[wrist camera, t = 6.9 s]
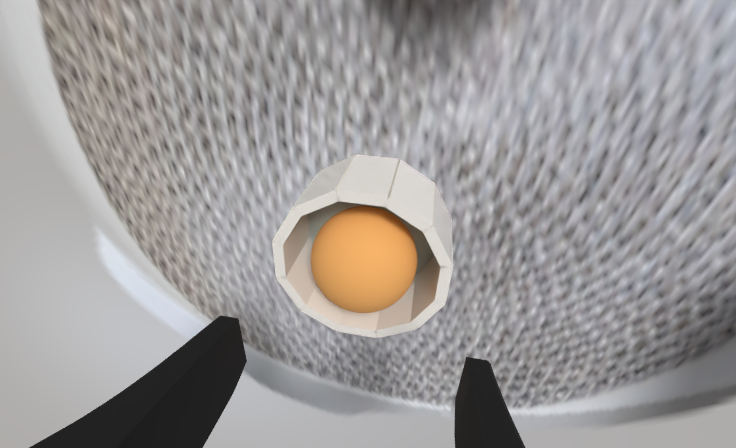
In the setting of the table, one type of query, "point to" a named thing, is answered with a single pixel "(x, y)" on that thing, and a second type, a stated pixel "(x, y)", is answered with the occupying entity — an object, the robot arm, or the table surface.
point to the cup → (385, 191)
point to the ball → (364, 259)
